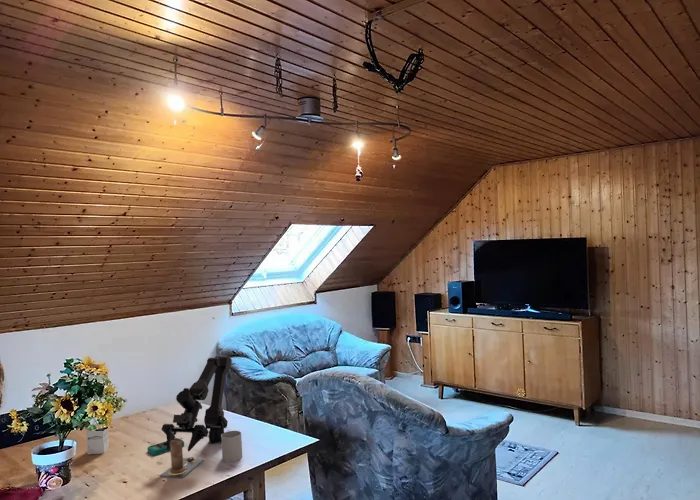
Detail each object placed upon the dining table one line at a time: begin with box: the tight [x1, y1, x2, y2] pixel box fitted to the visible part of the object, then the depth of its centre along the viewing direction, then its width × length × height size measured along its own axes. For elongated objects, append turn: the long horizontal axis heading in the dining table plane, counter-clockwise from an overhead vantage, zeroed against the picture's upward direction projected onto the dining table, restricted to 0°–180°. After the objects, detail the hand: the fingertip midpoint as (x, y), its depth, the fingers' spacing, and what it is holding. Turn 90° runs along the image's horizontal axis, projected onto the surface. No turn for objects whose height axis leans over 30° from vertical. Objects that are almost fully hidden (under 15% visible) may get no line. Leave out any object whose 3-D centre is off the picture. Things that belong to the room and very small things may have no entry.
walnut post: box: [169, 438, 185, 474], centre depth 213 cm, size 6×6×12 cm
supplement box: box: [85, 428, 110, 456], centre depth 240 cm, size 7×7×13 cm
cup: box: [221, 430, 243, 463], centre depth 225 cm, size 8×8×10 cm
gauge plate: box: [159, 456, 205, 479], centre depth 216 cm, size 17×10×2 cm, turn 167°
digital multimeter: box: [147, 437, 185, 456], centre depth 239 cm, size 7×15×3 cm, turn 135°
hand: (177, 450), depth 214 cm, fingers open, 9 cm apart
